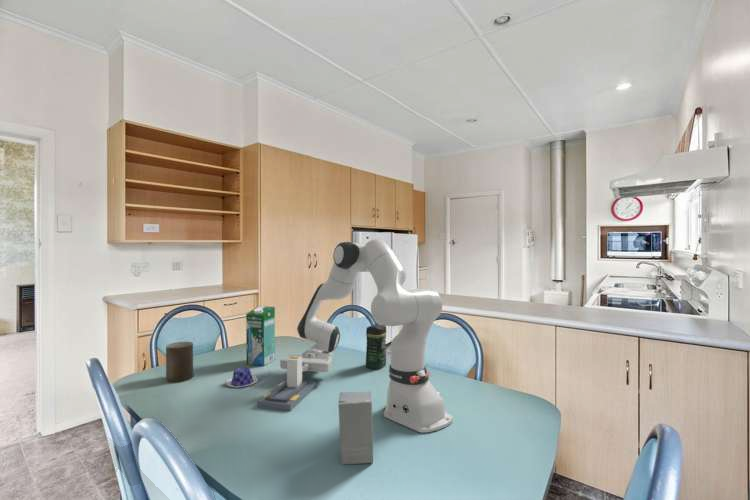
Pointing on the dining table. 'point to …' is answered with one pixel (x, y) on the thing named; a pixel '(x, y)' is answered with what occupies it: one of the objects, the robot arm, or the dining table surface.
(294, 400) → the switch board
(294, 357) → the white rectangular block
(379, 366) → the coffee jar
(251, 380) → the pudding
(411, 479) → the dining table surface
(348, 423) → the skincare box
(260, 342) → the milk carton
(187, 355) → the pillar candle
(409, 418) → the robot arm
